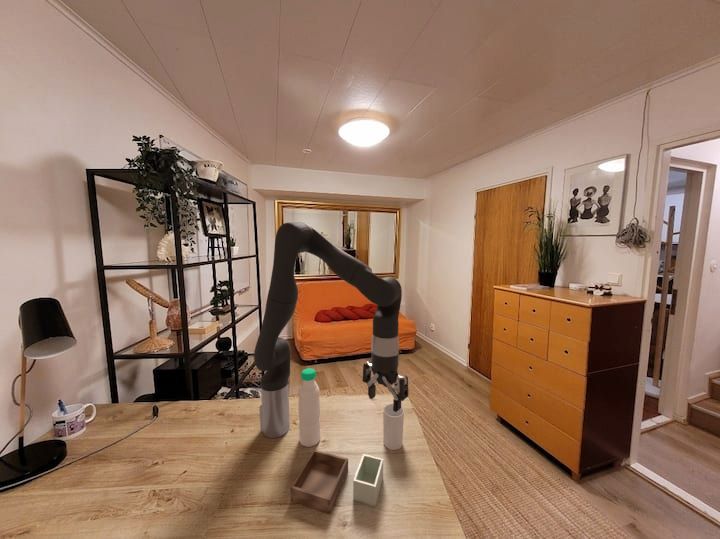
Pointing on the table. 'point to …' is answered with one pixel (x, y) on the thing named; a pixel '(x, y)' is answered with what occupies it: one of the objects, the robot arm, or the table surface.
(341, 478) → the walnut crate
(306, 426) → the water bottle
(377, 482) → the sage crate
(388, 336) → the robot arm
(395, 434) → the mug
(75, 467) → the table surface
